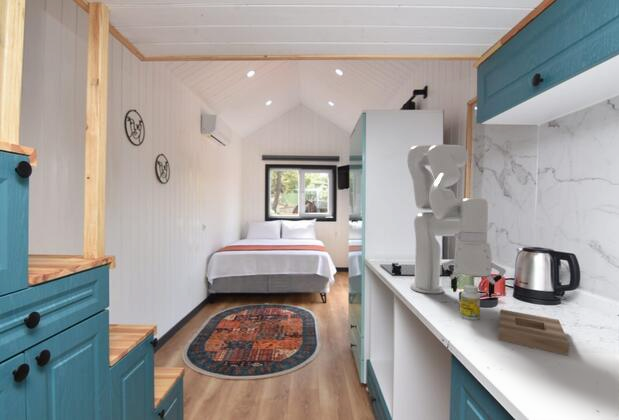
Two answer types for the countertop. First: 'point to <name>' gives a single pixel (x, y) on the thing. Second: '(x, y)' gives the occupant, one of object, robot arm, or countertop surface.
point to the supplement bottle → (470, 302)
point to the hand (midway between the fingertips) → (472, 293)
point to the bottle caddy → (533, 331)
